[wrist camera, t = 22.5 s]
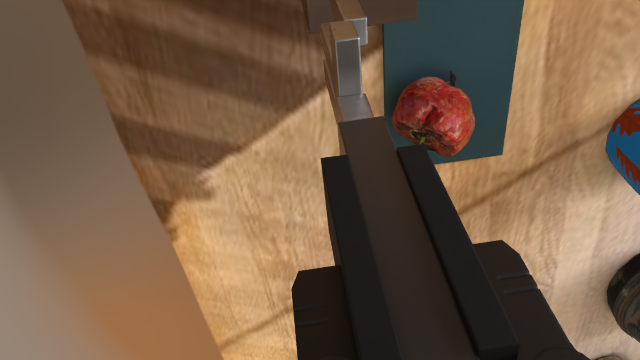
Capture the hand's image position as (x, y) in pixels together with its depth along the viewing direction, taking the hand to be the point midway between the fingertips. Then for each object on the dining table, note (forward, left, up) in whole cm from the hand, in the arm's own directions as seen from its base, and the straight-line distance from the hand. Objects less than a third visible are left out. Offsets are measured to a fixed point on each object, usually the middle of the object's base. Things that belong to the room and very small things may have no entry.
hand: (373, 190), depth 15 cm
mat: (+15, +13, -32) cm, 38 cm away
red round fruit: (+16, +7, -28) cm, 33 cm away
